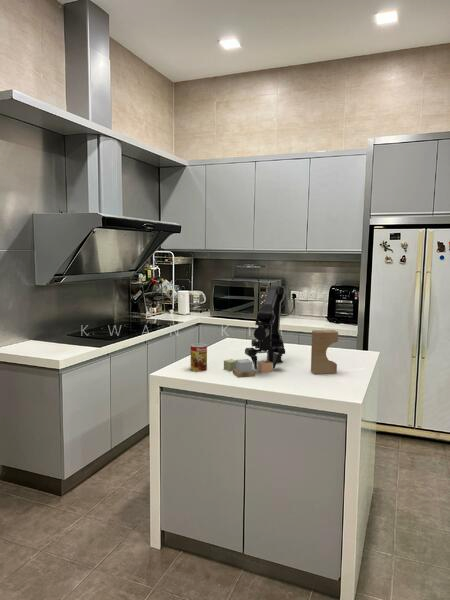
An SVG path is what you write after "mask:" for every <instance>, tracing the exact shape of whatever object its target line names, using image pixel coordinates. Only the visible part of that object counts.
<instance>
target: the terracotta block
mask: <svg viewBox="0 0 450 600" xmlns="http://www.w3.org/2000/svg"><path fill="white" fill-rule="evenodd" d="M256 370H257V371H258V372H259V373H262V374H263V373H273V363H272V362H270V361H268V360H267V359H265V360H257V369H256Z"/></svg>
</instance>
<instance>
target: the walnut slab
mask: <svg viewBox="0 0 450 600" xmlns="http://www.w3.org/2000/svg"><path fill="white" fill-rule="evenodd" d="M232 374H233V375H234V376H235V377H236V378H239V379H240V378H254V377H256V371H254V370H253V369H252V372H239V371H237V370H236V369H233V371H232Z"/></svg>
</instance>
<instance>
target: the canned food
mask: <svg viewBox="0 0 450 600" xmlns="http://www.w3.org/2000/svg"><path fill="white" fill-rule="evenodd" d="M190 371H192V372H196V373H199V372H200V373H201V372H206V371H208V344H205V343H202V342H201V343H192V344H190Z"/></svg>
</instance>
